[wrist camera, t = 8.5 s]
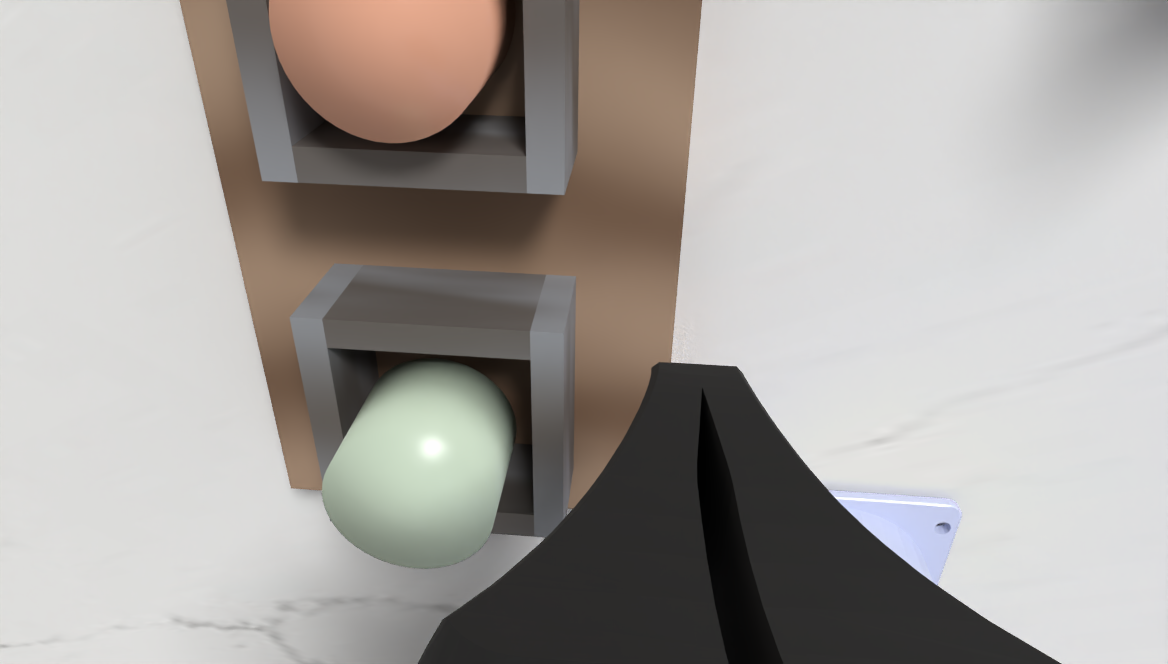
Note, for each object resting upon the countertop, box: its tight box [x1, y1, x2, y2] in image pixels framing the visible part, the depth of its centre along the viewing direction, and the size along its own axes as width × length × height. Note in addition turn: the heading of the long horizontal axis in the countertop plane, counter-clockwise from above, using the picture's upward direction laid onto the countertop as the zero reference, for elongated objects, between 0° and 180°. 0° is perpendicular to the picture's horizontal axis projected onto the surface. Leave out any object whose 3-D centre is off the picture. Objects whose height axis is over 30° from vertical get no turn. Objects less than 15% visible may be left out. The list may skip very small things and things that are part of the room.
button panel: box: [180, 0, 702, 537], centre depth 20 cm, size 20×12×5 cm, turn 179°
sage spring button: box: [322, 358, 517, 569], centre depth 19 cm, size 4×4×3 cm
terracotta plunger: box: [269, 0, 515, 143], centre depth 16 cm, size 4×4×3 cm
